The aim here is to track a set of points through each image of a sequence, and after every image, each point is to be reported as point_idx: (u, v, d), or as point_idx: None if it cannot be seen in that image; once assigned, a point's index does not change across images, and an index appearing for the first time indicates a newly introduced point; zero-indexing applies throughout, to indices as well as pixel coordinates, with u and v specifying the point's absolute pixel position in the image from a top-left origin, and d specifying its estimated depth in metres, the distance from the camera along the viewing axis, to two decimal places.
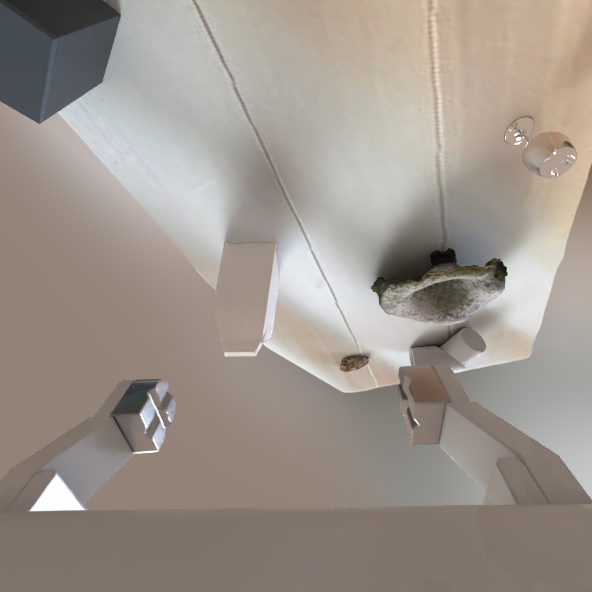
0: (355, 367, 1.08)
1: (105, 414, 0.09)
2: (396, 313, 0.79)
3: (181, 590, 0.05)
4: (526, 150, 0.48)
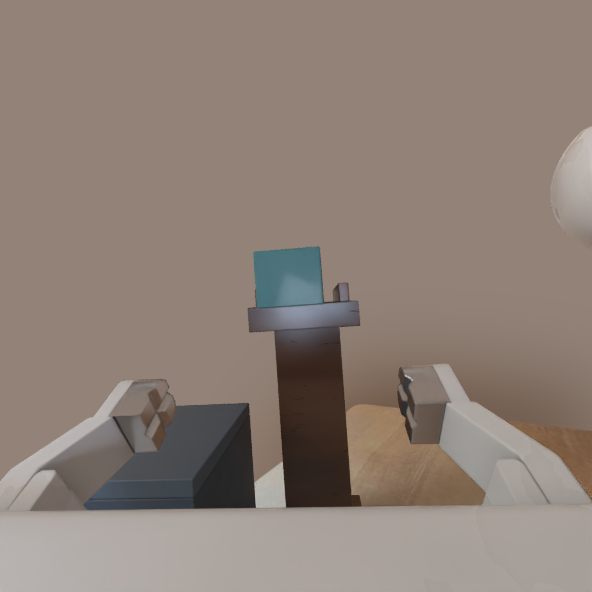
0: None
1: (105, 414, 0.09)
2: None
3: (181, 590, 0.05)
4: None
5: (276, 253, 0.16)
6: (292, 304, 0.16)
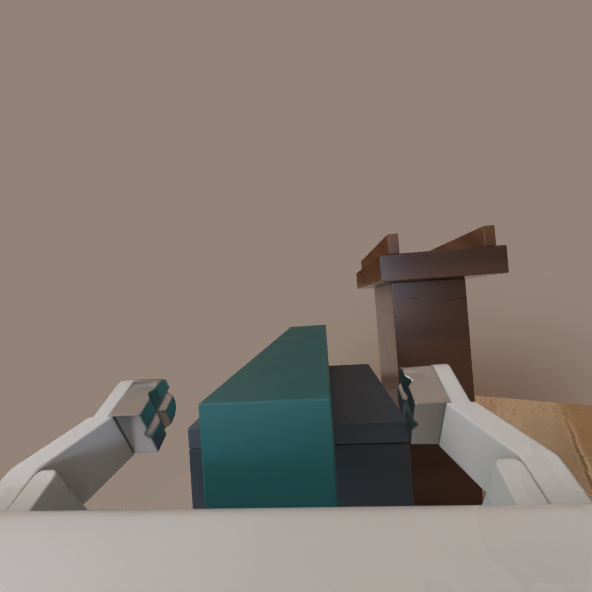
0: None
1: (105, 414, 0.09)
2: None
3: (181, 590, 0.05)
4: None
5: (243, 409, 0.08)
6: None
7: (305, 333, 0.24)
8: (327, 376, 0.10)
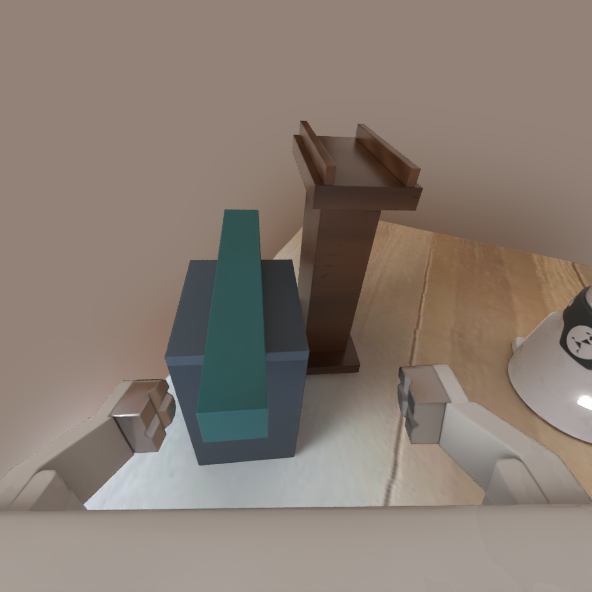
0: None
1: (105, 414, 0.09)
2: None
3: (181, 590, 0.05)
4: None
5: (222, 414, 0.15)
6: (238, 439, 0.17)
7: (241, 243, 0.27)
8: (265, 371, 0.17)
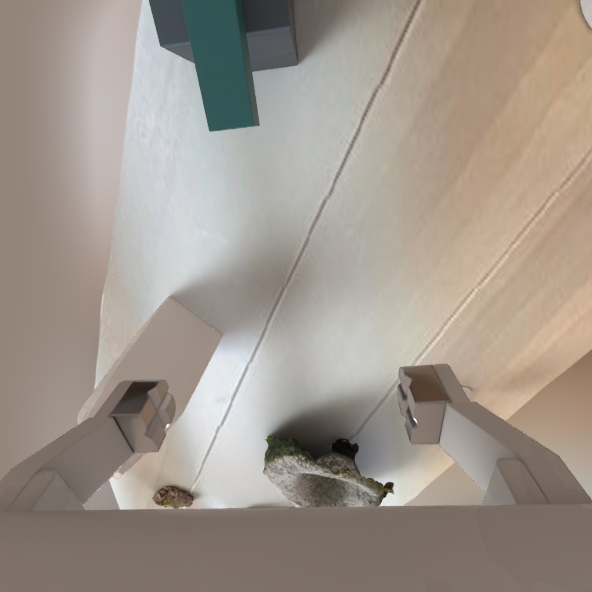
0: (172, 505, 0.84)
1: (105, 414, 0.09)
2: (274, 479, 0.68)
3: (181, 590, 0.05)
4: None
5: (225, 129, 0.24)
6: None
7: None
8: (247, 90, 0.22)
